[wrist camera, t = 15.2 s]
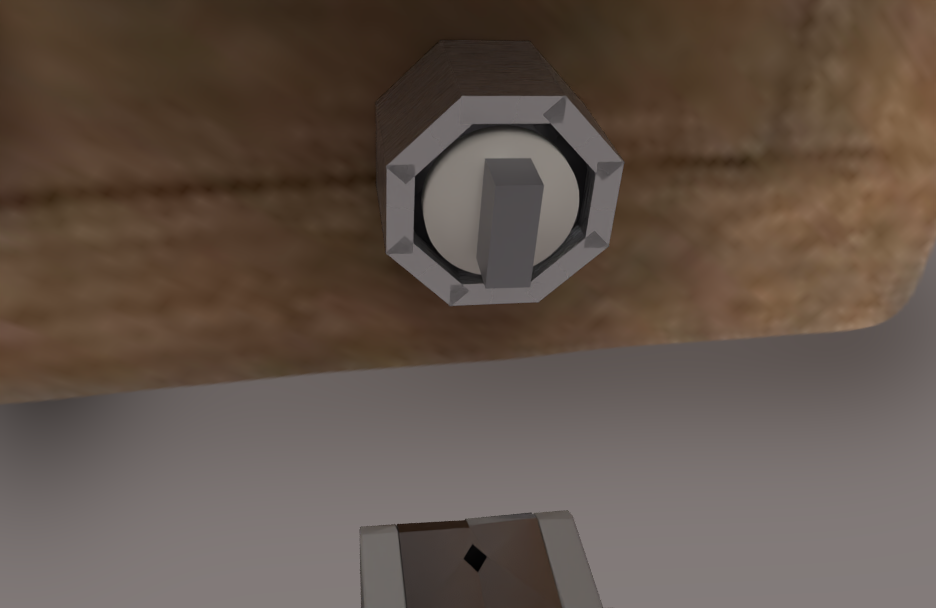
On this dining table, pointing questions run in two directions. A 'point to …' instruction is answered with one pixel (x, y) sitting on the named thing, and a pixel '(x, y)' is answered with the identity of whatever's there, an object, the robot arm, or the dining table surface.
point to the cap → (500, 203)
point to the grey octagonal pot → (475, 107)
